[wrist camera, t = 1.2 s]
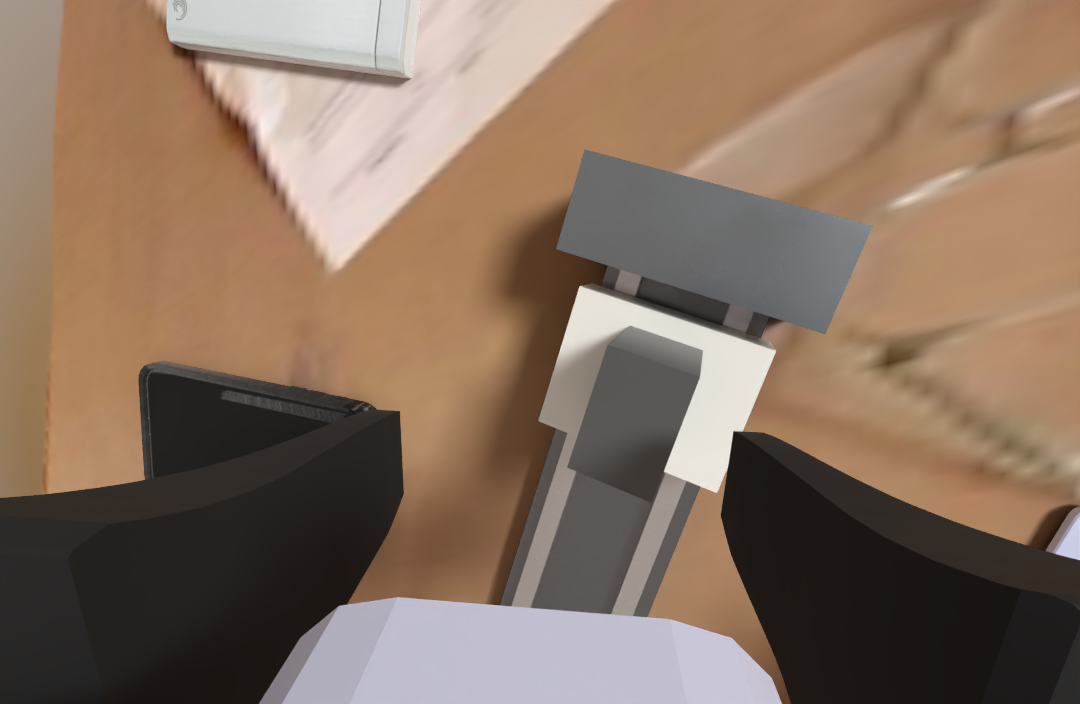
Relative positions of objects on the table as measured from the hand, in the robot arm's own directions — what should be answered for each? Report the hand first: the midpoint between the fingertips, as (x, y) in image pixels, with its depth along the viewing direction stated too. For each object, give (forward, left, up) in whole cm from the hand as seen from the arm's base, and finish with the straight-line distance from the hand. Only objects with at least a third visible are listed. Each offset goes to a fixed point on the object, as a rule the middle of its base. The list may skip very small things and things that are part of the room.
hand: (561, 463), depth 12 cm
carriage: (-1, 0, -9) cm, 9 cm away
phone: (+17, +11, -11) cm, 23 cm away
